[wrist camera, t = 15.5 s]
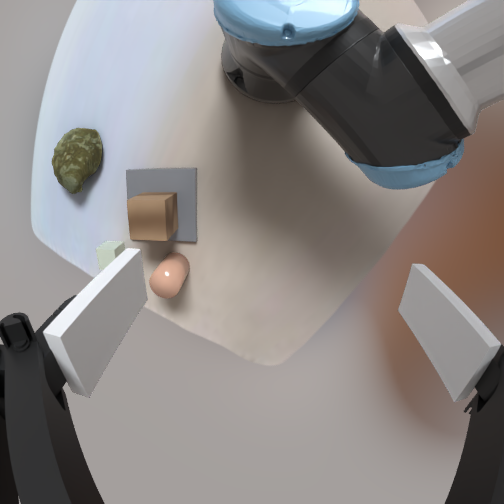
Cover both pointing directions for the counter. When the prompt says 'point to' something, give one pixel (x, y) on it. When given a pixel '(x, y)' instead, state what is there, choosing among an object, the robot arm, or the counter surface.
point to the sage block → (108, 252)
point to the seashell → (77, 158)
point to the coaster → (170, 182)
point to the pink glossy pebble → (169, 275)
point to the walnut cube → (153, 215)
